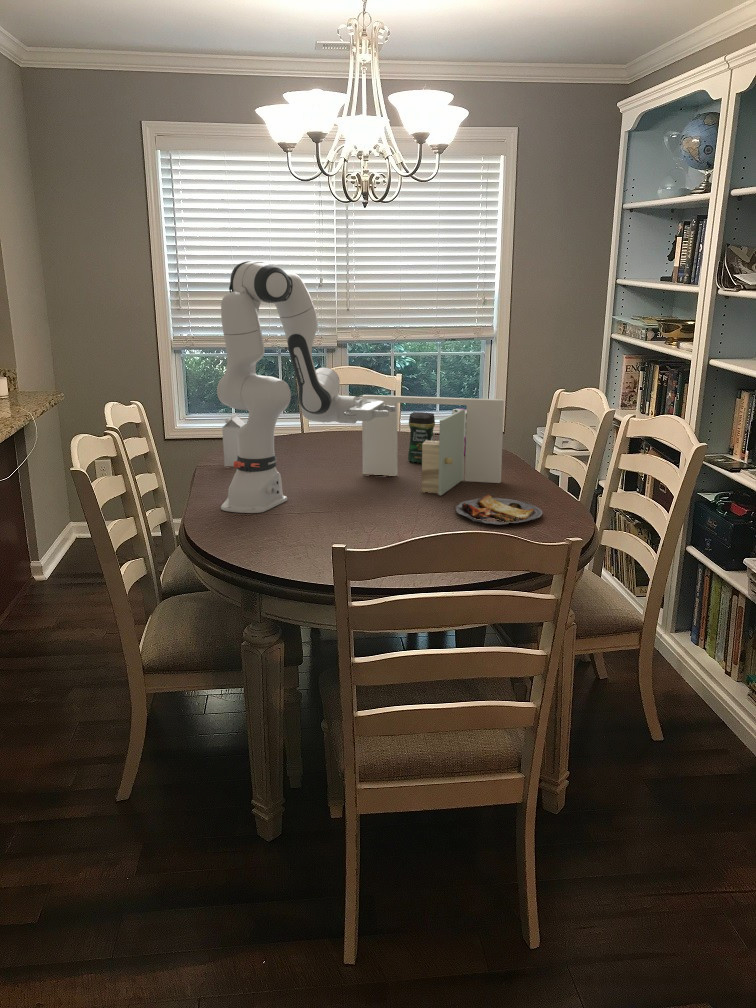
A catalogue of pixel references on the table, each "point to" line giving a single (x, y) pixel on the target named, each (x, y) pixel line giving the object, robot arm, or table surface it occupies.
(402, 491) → the table surface
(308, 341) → the robot arm
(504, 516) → the food plate
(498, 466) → the door frame
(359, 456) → the table surface
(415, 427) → the coffee jar
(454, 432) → the door
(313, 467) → the table surface
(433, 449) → the doorstop block
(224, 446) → the milk carton
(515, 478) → the table surface
